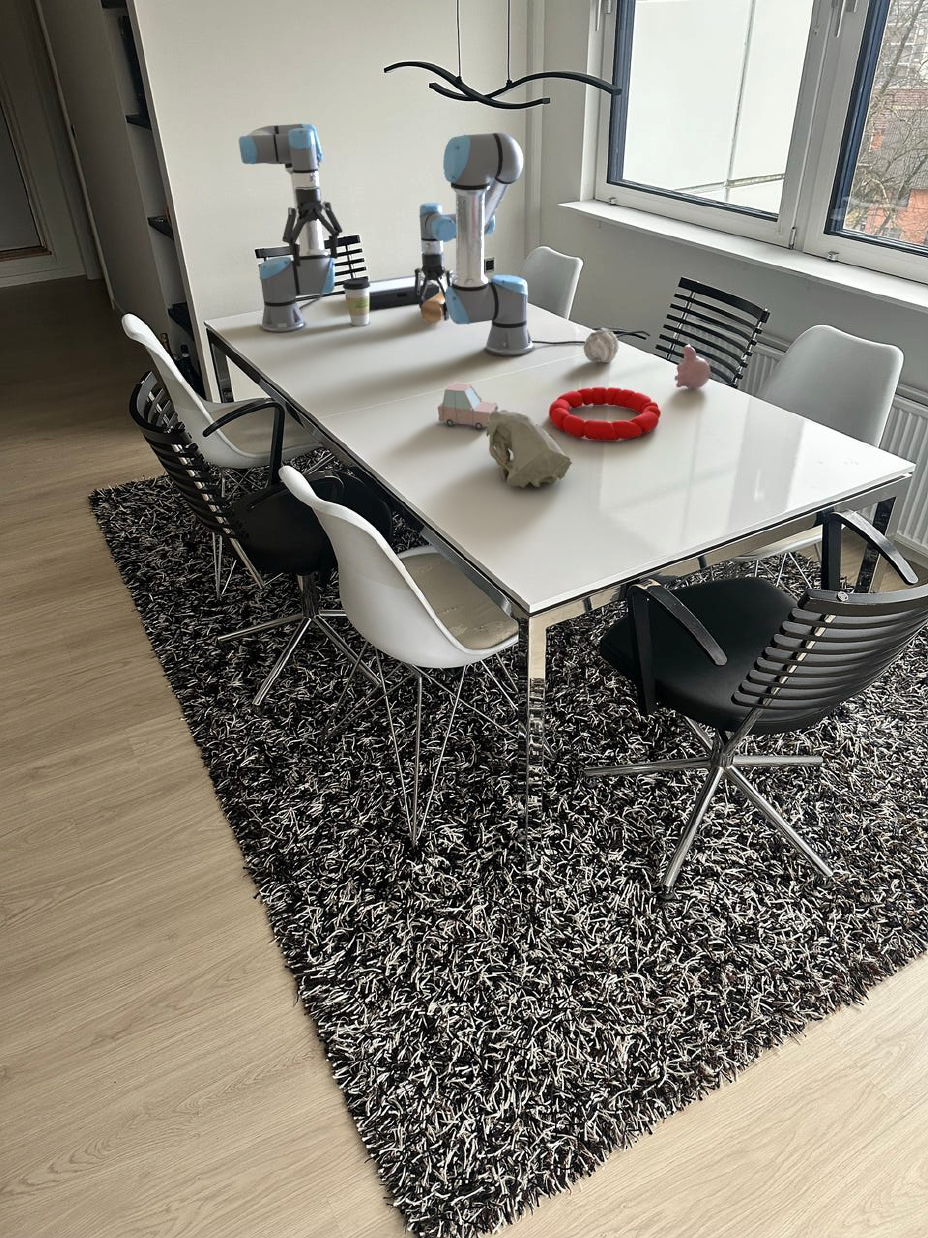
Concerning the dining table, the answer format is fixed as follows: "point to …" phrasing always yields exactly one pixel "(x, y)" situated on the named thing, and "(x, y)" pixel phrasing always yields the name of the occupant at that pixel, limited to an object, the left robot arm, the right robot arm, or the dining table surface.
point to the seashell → (601, 346)
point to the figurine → (692, 370)
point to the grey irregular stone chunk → (525, 450)
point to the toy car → (465, 406)
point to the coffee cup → (357, 300)
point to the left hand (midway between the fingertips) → (316, 261)
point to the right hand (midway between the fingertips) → (435, 318)
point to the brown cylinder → (433, 308)
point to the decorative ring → (604, 428)
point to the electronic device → (397, 292)
